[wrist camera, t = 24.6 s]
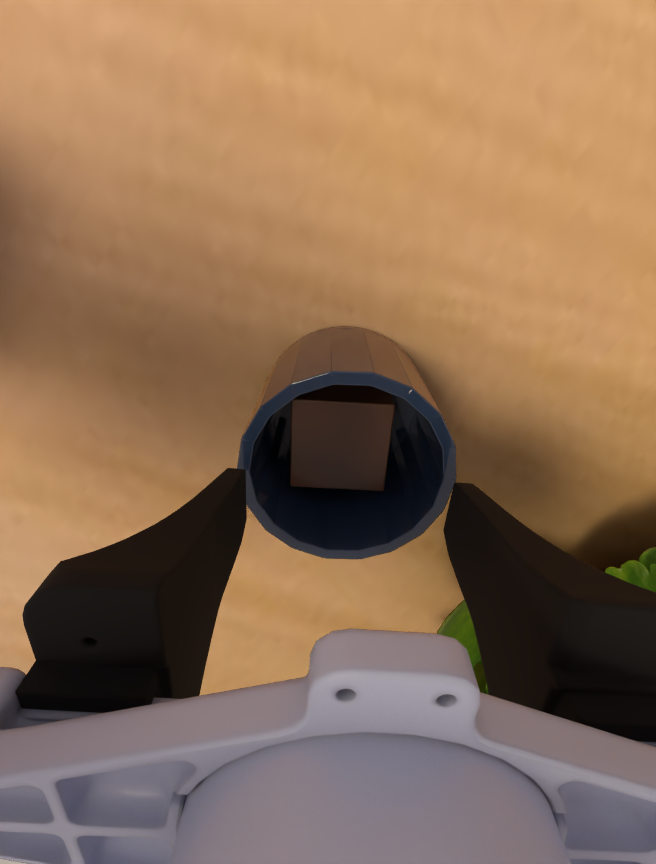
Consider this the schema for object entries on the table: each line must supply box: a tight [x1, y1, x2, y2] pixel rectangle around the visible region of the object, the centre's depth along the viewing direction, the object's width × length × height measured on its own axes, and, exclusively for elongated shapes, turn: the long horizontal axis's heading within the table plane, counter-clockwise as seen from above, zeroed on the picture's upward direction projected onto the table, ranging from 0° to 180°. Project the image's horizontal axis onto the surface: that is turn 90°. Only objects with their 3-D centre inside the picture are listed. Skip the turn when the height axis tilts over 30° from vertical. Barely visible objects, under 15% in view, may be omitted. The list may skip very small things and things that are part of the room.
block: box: [290, 385, 395, 491], centre depth 20 cm, size 4×4×4 cm
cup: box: [237, 326, 456, 559], centre depth 20 cm, size 8×8×7 cm
